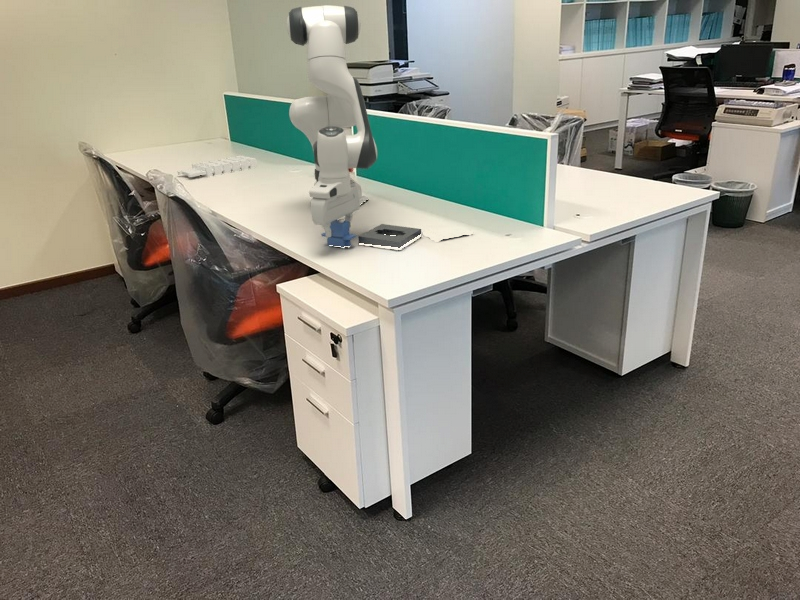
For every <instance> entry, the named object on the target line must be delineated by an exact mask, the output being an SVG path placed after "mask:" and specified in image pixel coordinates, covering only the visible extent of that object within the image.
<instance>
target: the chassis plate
mask: <svg viewBox="0 0 800 600" xmlns="http://www.w3.org/2000/svg"><path fill="white" fill-rule="evenodd" d="M384 234H386V235H384ZM420 234H421V235H422V229H421V228H415V227H409V226H401V225H392V224H387V223H381V224H379V225H377V226H375V227H373V228H371V229H369V230H368V231H366V232H364V233H362V234H360V235H358V239H357V240H358V244H359V243H364V244H372V245H381V246H391V247H398V248H400V247H401V246H403V245H404V244H406V243H407V242H409V241H410V240H412V239H414V238H415V237H417V236H418V235H420ZM390 235H396V236H390Z"/></svg>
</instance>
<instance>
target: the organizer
mask: <svg viewBox="0 0 800 600" xmlns="http://www.w3.org/2000/svg"><path fill="white" fill-rule="evenodd" d="M191 166H192V167H191V168H188V169H183V170H178V171H176V172H177V175H180V176H181V175H183V176H186V177H188V178H194V177H198V176H200V175H202V176H200V177H204V176H206V177H205V178H211V177H210V176H213V177H214V175H218V176H220V175H219V174H222V173H228V174H230V173H229V172H231V171H233V172H231V173H236V172H235V171H238V172H240V171H242V170H243V171H246V170H245V169H248V170H250V169H249V168H253V169H257V168H258V162H257V158H255V157H250V156H246V155H237V156H231V157H226V158H218V159H217V160H215V159H214V160H209V161H204V162H203V161H202V162H199V163H193V164H191ZM256 167H257V168H256ZM240 169H241V170H240ZM239 170H240V171H239ZM222 175H223V174H222Z"/></svg>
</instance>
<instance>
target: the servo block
mask: <svg viewBox="0 0 800 600" xmlns="http://www.w3.org/2000/svg"><path fill="white" fill-rule="evenodd" d="M330 228H331V230H333V236H331V237H326V235H325V232H323V233H320V236H321V237H325V238H327V239H326V240H327V246H328V245H333V246H341V247H344V246H350V245H351V246H352V243H351V240H353V239H354V238H356V237H357V235H356V234H353V233H352V234H351V233H350V231H351V230H350V228H349V221H345V218H344V219H343V218H341V219H340V218H339V219H337V220H334V221H332V222H331V226H330Z"/></svg>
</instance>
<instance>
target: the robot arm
mask: <svg viewBox="0 0 800 600" xmlns="http://www.w3.org/2000/svg"><path fill="white" fill-rule="evenodd" d="M286 31H287V34H288V36H289V37H290V41H291V42H293V43H294V44H295V45H298V46H302V47H303V46H305V45H306V55H307V56H306V57H307V58H306V59H307V60H306V61H307V71H308V72H307V73H308V79H309V82H311V85H313V86H314V87H316V88H317V89H318V90H320V91H321V92H323V93H325V94H326V95H318V96H317V95H314V96H305V97H301V98H297V99H294V100H293V101H292V103H291V104H290V106H289V110H288V111H289V112H288V115H289V120H290V121H291V123H292V125H293V126H294V127H295V129H298V130H299V131H301V132H302V133H303V134H304V135H305V137H306V138H307V139H308V140H309V142H310V144H311V147H312V151H313V152H312V153H313V158H314V159H313V160H314V165H315V167H314V173H313V174H314V179H315V182H314V183H313V184H314V185H313V187H311V188H310V189H309V192H308V193H309V196H310V197H311V201H310V214H311V221H312V222H313V224H314V225H317V226H322V229H323V231H324V233H325V235H326V237H325V238H328V237H331V236H333V230H331V228H330V226H331V222H332V221H334V220H339V219H340V218H341V219H342V218H343V217H345V218H344V221H349V229H350V228H351V226H352V225H351V222H352V219H353V213H354V212H356V211H359V209H360V207H361V206H360V204H361V203H363V202H364V201H366V200H367V199H369V197H368V196H365V195H363V192H362V187H361V185H360V184H359V183H358V182H357V181H355V180H354V179H353V178H352V177H351V173H353V172H354V169H359V170H360V169H363V170H368V169H370V168H371V167H372V166H373V165H374V164H375V163H376V161H377V159H378V148H377V144H376V142H375V139H374V136H373V133H372V128H371V124H370V120H369V117H368V111H367V108H366V104H365V99H364V95H363V91H362V88H361V85H360V82H359V80H358V79H357V78H356V77H353V76H352V74H351V72H350V71H349V69H348V65H347V56H346V47H345V46H346V45H348V44H349V45H350V44H351V43H355V42H356V41H357V40H358V39H359V35H360V32H361V19H360V17H359V15H358V11H357V10H356V9H355V7H351V6H347V5H344V6H340V5H330V4H329V5H328V4H327V5H314V6H313V5H312V6H306V7H302V6H299V7H295V8H294V7H293V8H292V9H290V11H289V12H288V16H287V18H286ZM345 44H346V45H345ZM355 126H356V131H357V132H356V133H355V134H346V131H345V130H344V129H348V128H350V127H355Z"/></svg>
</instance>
